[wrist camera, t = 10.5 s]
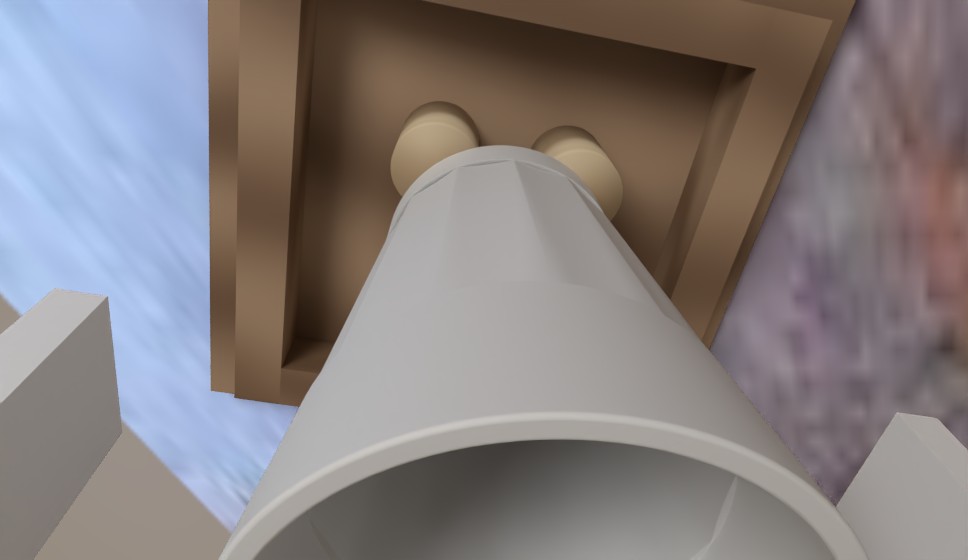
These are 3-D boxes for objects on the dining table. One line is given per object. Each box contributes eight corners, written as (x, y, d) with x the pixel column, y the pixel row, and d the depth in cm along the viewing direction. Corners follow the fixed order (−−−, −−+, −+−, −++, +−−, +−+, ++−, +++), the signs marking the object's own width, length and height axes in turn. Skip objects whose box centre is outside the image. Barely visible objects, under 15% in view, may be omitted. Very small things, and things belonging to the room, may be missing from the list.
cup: (594, 384, 20) (730, 857, 10) (346, 347, 20) (198, 820, 9) (675, 143, 17) (1026, 475, 6) (374, 86, 16) (184, 356, 5)
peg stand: (220, -176, 17) (153, -210, 13) (850, -34, 19) (939, -30, 15) (220, 375, 25) (178, 445, 21) (659, 435, 27) (688, 510, 23)
